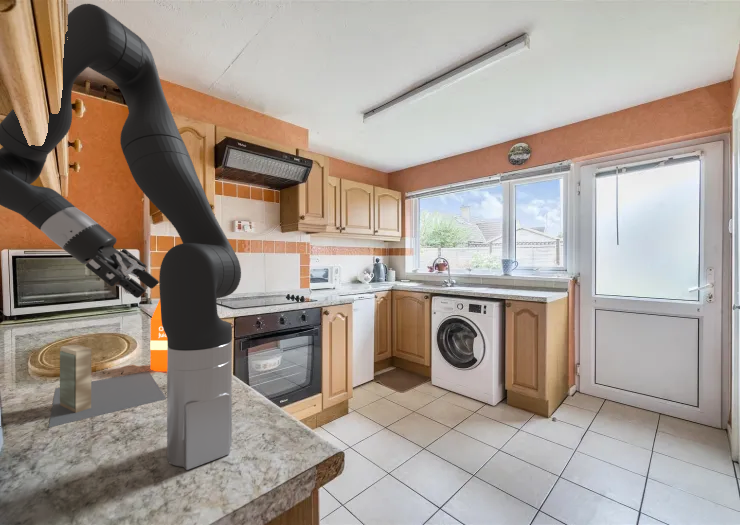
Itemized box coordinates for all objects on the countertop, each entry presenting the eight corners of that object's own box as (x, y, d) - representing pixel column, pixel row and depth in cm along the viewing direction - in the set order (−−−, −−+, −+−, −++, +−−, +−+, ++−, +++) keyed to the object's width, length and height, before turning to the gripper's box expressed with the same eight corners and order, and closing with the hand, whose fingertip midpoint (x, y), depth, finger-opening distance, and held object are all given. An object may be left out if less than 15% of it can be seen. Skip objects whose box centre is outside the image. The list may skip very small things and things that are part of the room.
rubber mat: (166, 402, 69) (166, 398, 69) (48, 431, 57) (48, 427, 57) (148, 373, 87) (148, 370, 87) (55, 391, 75) (55, 388, 75)
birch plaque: (74, 413, 62) (75, 351, 62) (59, 405, 66) (59, 347, 66) (91, 407, 65) (91, 348, 65) (75, 400, 68) (75, 344, 68)
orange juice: (181, 371, 89) (181, 299, 89) (149, 371, 89) (150, 299, 89) (196, 362, 97) (197, 296, 97) (167, 362, 97) (168, 296, 97)
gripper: (76, 223, 58) (152, 284, 63) (111, 221, 71) (171, 272, 77) (41, 252, 57) (122, 311, 62) (83, 244, 71) (147, 294, 76)
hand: (149, 289), depth 69 cm, fingers open, 8 cm apart
